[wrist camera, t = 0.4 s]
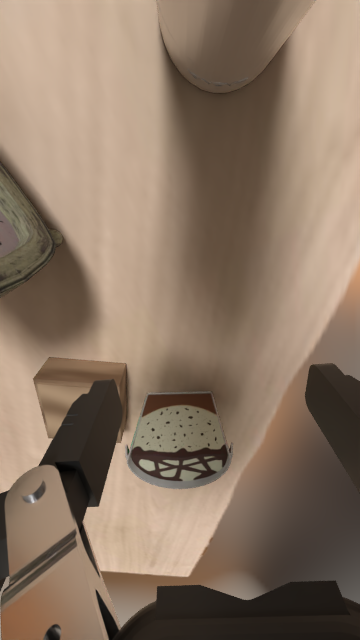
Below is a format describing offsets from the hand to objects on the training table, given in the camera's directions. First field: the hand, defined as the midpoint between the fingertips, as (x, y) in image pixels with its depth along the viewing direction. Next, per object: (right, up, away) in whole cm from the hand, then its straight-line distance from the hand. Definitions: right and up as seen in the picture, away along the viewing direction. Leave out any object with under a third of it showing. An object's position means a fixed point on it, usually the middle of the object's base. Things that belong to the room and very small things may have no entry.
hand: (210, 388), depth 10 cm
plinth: (-14, -7, +25) cm, 29 cm away
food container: (-1, -10, +26) cm, 28 cm away
